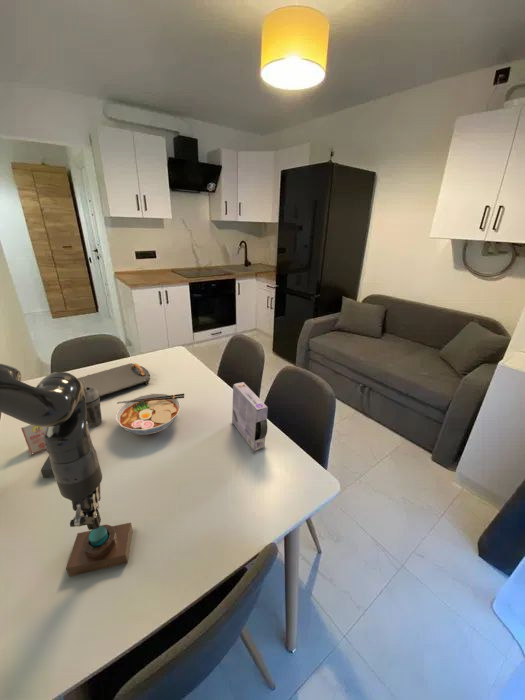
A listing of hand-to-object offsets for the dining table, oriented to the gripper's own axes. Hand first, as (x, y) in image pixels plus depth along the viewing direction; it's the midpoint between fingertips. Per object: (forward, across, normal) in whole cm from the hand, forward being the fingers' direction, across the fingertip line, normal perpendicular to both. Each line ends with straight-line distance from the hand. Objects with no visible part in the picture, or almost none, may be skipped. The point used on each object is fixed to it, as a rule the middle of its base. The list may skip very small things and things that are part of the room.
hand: (95, 525), depth 65 cm
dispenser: (+10, 0, 0) cm, 10 cm away
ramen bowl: (+10, +46, -7) cm, 48 cm away
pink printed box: (+10, +42, +28) cm, 51 cm away
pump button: (+5, 0, 0) cm, 5 cm away
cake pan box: (+10, +33, -42) cm, 54 cm away
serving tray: (+10, +80, +16) cm, 82 cm away
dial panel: (+10, +32, +17) cm, 37 cm away
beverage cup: (+10, +52, +14) cm, 55 cm away
